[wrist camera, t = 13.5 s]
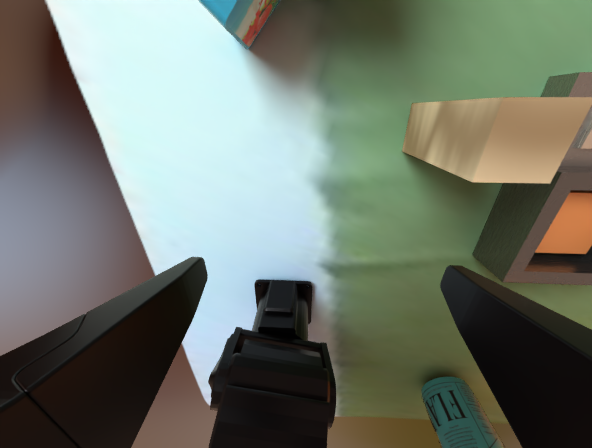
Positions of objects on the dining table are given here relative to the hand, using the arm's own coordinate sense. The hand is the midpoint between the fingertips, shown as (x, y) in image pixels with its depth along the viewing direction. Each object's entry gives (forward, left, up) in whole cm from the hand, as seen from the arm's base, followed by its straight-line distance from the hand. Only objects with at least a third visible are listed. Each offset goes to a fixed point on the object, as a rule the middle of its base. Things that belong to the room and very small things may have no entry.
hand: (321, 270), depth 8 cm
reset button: (-3, -21, -12) cm, 25 cm away
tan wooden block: (+4, -9, -13) cm, 16 cm away
